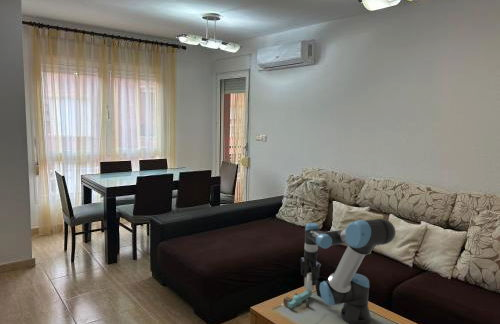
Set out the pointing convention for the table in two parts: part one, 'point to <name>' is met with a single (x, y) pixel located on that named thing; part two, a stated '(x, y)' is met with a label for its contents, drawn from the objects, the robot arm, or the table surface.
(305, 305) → the press base
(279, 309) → the table surface
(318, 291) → the mug
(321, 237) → the robot arm
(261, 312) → the table surface
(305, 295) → the lever
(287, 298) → the walnut block
